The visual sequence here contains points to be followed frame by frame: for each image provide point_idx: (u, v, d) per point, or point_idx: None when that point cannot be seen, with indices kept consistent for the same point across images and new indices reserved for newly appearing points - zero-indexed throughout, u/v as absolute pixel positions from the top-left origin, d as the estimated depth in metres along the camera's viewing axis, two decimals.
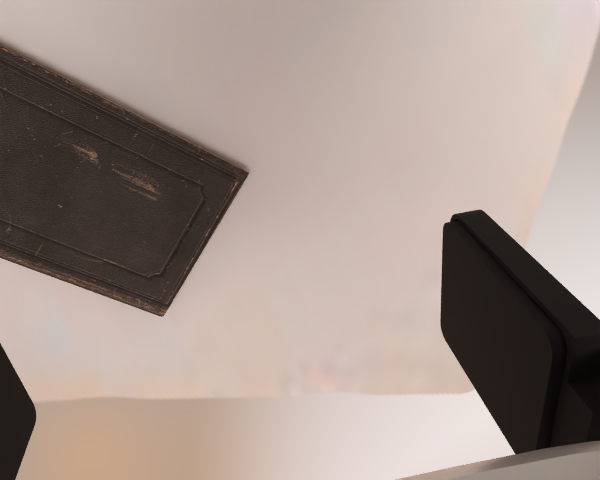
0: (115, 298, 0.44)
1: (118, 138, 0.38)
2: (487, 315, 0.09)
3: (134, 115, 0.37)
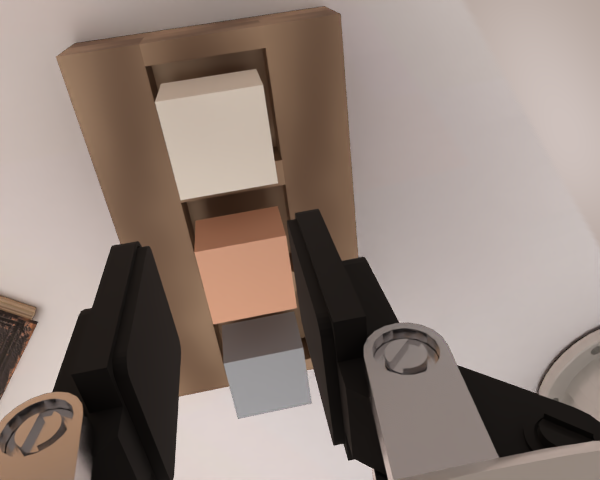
0: None
1: None
2: (306, 305, 0.10)
3: None
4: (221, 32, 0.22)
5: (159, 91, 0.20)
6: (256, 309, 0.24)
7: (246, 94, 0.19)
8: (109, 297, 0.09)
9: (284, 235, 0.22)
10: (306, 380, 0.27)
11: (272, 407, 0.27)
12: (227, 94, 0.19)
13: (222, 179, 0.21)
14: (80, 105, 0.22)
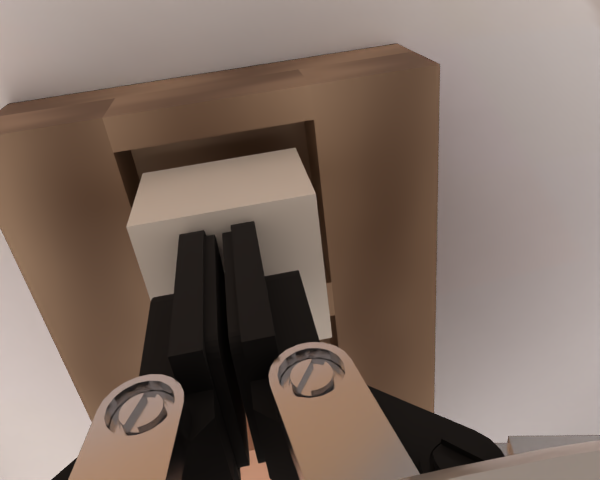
0: None
1: None
2: None
3: None
4: (241, 96, 0.13)
5: (137, 194, 0.12)
6: None
7: (285, 210, 0.11)
8: (189, 283, 0.09)
9: None
10: None
11: None
12: (253, 210, 0.11)
13: None
14: (7, 214, 0.13)
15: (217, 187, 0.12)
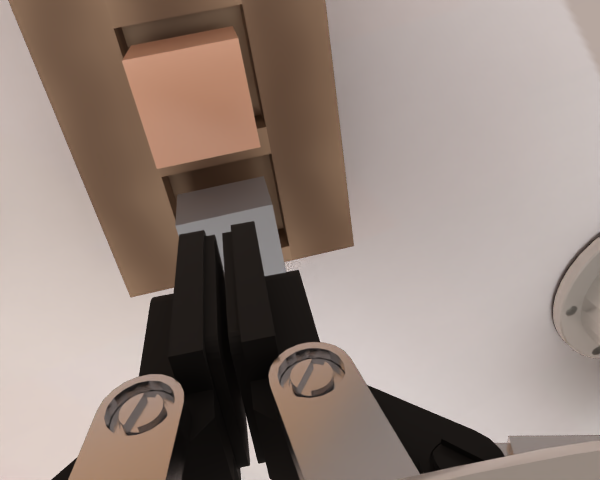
0: None
1: None
2: None
3: None
4: None
5: None
6: (209, 148, 0.19)
7: None
8: (189, 283, 0.09)
9: (236, 38, 0.18)
10: (279, 250, 0.22)
11: None
12: None
13: None
14: None
15: None
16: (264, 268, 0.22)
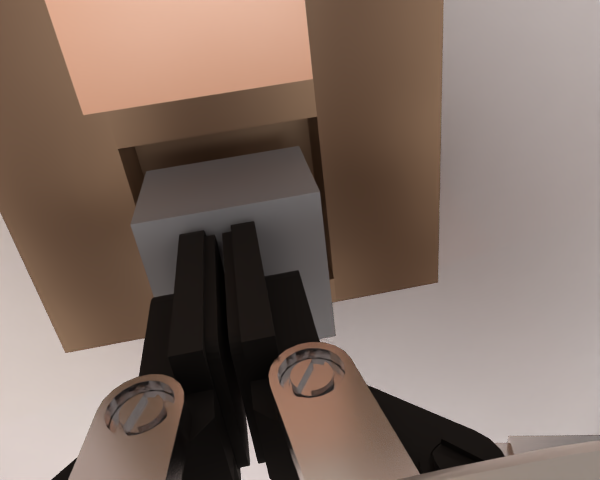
0: None
1: None
2: None
3: None
4: None
5: None
6: (201, 73, 0.09)
7: None
8: (188, 283, 0.09)
9: None
10: (325, 279, 0.12)
11: None
12: None
13: None
14: None
15: None
16: None
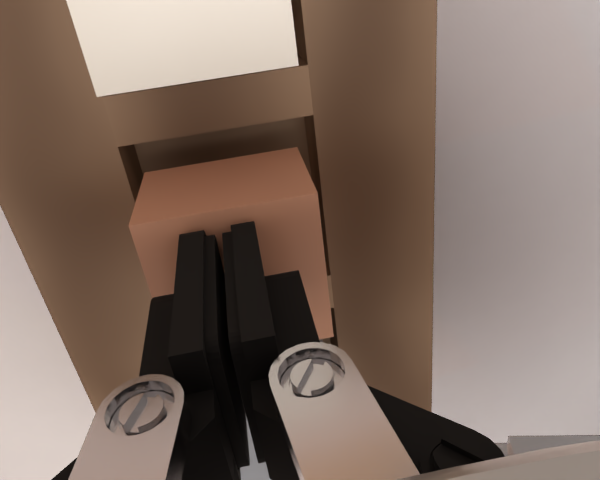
0: None
1: None
2: None
3: None
4: None
5: None
6: None
7: None
8: (188, 283, 0.09)
9: (314, 192, 0.11)
10: None
11: None
12: None
13: (183, 52, 0.10)
14: None
15: None
16: None
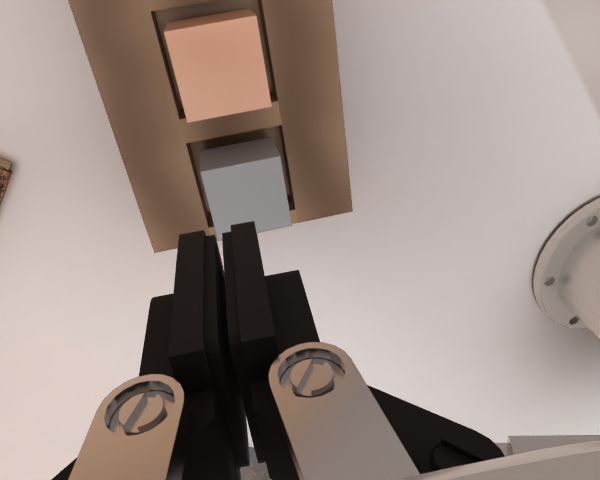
0: None
1: None
2: None
3: None
4: None
5: None
6: (230, 106, 0.24)
7: None
8: (189, 283, 0.09)
9: (254, 15, 0.22)
10: (285, 197, 0.27)
11: None
12: None
13: None
14: None
15: None
16: (272, 212, 0.27)
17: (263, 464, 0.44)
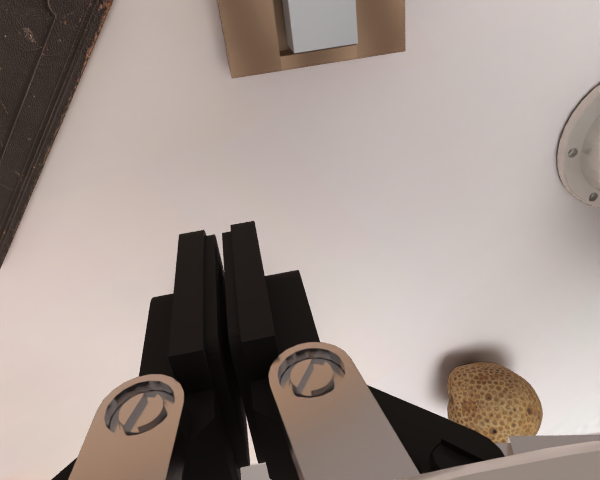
0: None
1: (10, 157, 0.36)
2: None
3: (39, 173, 0.37)
4: None
5: None
6: None
7: None
8: (188, 283, 0.09)
9: None
10: (354, 13, 0.31)
11: (324, 43, 0.31)
12: None
13: None
14: None
15: None
16: (342, 27, 0.31)
17: None
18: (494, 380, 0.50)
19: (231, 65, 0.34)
